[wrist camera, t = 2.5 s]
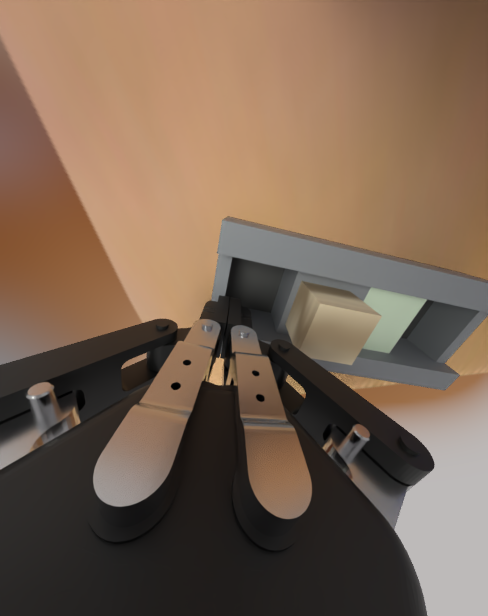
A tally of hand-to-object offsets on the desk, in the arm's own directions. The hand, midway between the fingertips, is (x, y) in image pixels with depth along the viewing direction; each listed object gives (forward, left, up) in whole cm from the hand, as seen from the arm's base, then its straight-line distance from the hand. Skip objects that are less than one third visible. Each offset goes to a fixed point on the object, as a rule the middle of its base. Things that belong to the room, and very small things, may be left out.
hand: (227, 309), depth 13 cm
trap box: (0, +10, -6) cm, 12 cm away
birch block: (0, +7, -2) cm, 8 cm away
